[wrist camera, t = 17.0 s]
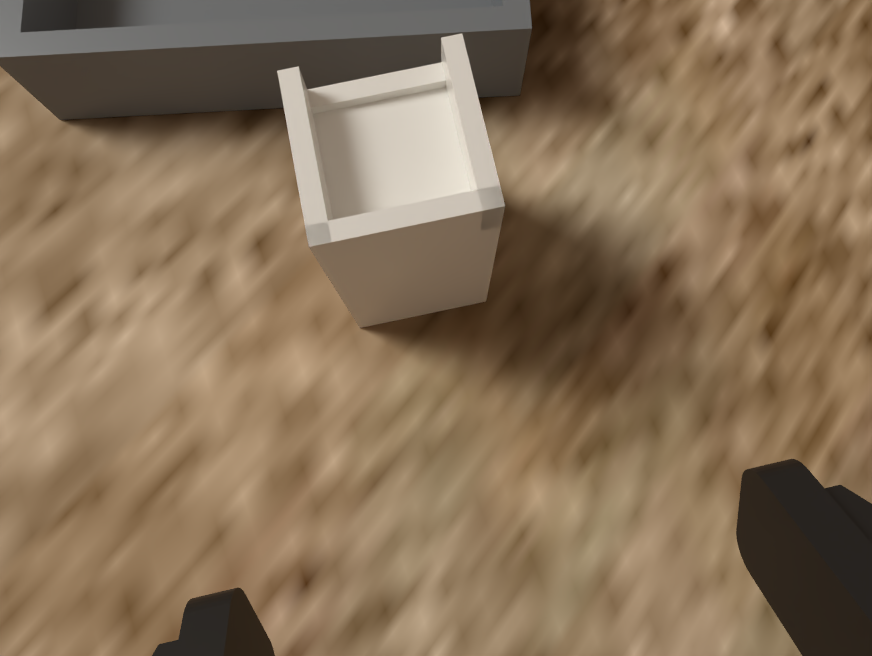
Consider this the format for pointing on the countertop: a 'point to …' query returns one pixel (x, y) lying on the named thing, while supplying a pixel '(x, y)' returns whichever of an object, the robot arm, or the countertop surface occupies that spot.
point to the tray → (242, 49)
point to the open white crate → (397, 186)
